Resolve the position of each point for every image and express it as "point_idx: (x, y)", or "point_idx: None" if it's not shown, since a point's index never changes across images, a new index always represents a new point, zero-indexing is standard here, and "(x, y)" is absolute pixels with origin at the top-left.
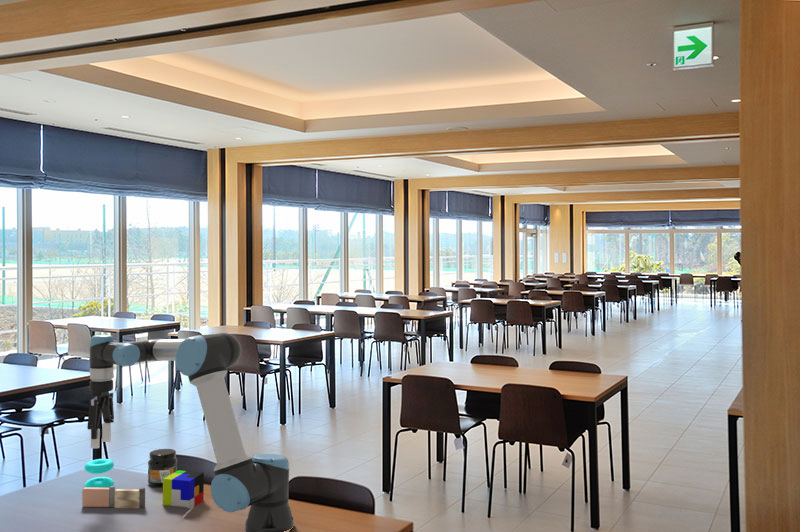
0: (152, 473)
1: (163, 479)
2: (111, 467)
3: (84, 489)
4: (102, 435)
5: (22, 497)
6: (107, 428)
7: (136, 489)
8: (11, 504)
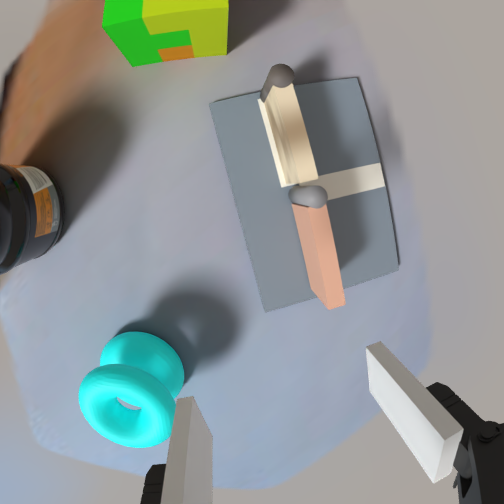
0: (43, 221)
1: (228, 7)
2: (112, 364)
3: (343, 297)
4: (211, 467)
5: (275, 464)
6: (193, 490)
7: (278, 103)
8: (321, 450)
